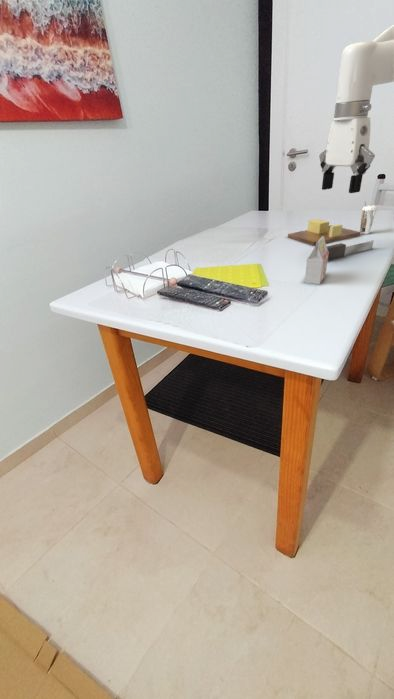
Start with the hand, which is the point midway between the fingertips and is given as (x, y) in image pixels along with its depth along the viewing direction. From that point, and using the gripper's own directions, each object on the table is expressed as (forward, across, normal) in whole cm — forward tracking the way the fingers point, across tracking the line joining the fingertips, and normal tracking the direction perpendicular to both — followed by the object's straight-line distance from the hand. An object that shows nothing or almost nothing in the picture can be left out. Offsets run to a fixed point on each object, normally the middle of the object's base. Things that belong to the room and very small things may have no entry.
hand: (339, 190), depth 89 cm
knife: (+18, 0, -6) cm, 19 cm away
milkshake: (+18, +15, -29) cm, 38 cm away
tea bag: (+18, -10, +14) cm, 25 cm away
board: (+18, +20, -15) cm, 31 cm away
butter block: (+17, +23, -15) cm, 32 cm away
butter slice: (+17, +14, -15) cm, 27 cm away
